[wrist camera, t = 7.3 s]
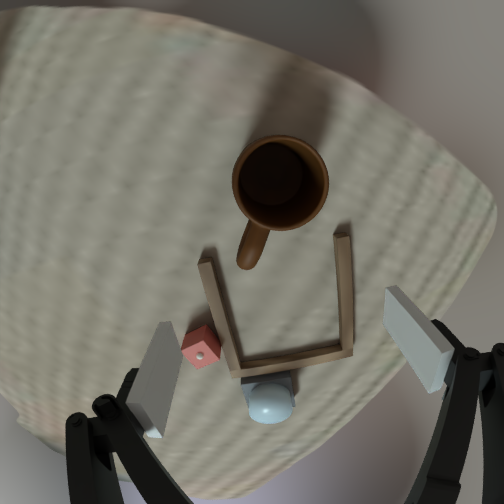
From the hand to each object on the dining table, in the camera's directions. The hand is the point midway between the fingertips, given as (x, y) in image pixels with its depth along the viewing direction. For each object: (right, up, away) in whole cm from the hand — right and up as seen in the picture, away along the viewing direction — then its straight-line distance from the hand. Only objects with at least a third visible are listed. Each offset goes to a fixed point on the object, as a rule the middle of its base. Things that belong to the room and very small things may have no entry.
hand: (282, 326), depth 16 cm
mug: (-1, +11, +14) cm, 18 cm away
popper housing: (+1, -16, +23) cm, 28 cm away
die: (-8, -7, +20) cm, 23 cm away
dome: (+1, -17, +22) cm, 27 cm away
